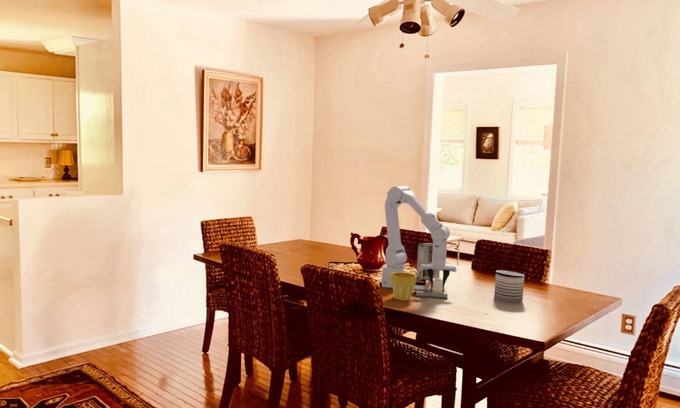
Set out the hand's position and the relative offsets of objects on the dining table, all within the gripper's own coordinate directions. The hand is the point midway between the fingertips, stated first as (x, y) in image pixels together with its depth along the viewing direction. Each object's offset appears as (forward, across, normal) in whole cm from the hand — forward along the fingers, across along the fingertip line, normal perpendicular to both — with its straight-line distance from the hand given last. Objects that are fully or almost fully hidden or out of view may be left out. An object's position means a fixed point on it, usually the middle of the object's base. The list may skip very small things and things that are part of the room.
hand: (437, 287), depth 234 cm
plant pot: (+3, -14, -10) cm, 17 cm away
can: (+3, +29, 0) cm, 29 cm away
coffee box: (+3, -3, +30) cm, 31 cm away
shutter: (+1, -7, 0) cm, 7 cm away
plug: (+2, 0, 0) cm, 2 cm away
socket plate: (+3, -2, 0) cm, 4 cm away
